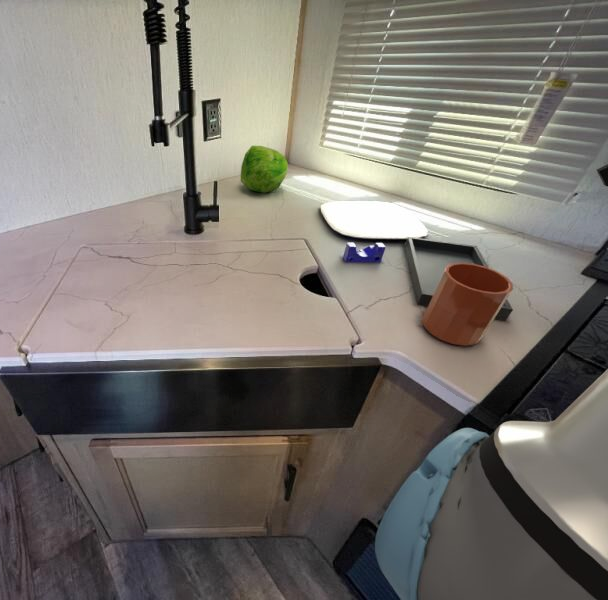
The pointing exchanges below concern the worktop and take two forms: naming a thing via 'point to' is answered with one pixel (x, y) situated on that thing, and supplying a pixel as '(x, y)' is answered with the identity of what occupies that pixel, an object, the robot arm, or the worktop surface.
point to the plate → (372, 220)
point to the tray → (440, 266)
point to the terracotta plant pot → (465, 303)
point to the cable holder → (364, 253)
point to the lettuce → (263, 169)
